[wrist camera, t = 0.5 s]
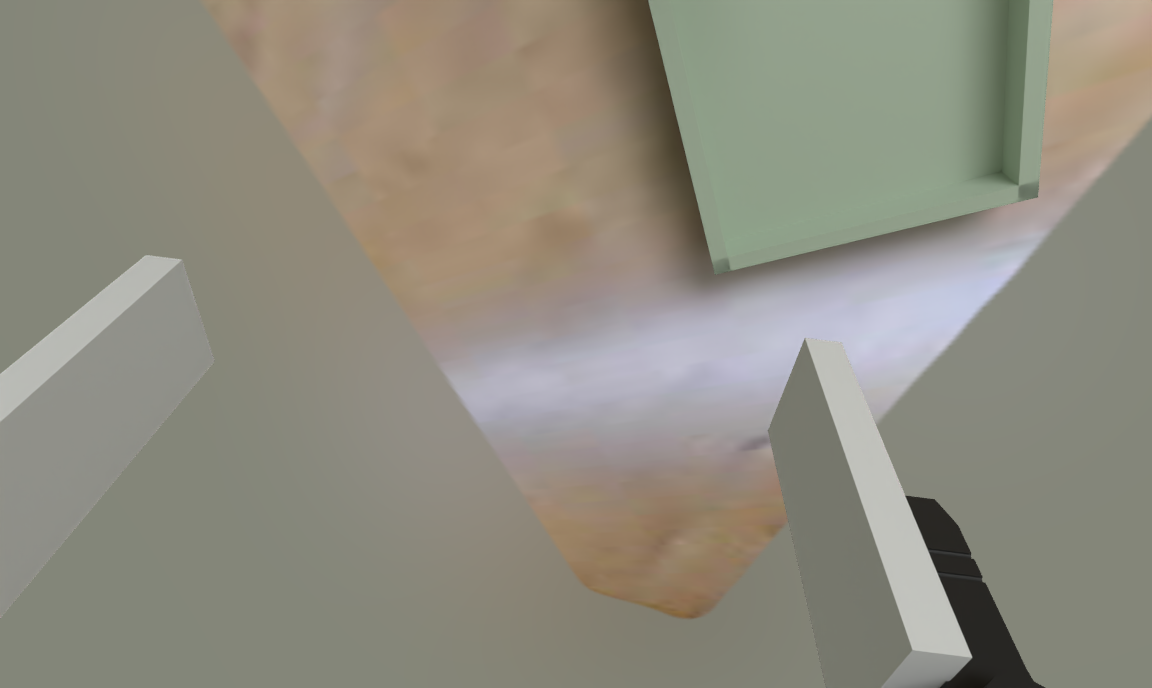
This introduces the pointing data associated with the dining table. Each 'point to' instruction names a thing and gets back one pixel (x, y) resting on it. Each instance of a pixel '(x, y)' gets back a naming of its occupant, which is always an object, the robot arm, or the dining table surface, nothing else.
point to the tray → (852, 115)
